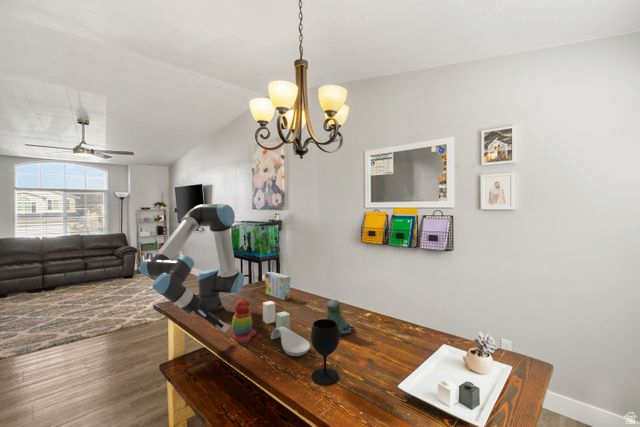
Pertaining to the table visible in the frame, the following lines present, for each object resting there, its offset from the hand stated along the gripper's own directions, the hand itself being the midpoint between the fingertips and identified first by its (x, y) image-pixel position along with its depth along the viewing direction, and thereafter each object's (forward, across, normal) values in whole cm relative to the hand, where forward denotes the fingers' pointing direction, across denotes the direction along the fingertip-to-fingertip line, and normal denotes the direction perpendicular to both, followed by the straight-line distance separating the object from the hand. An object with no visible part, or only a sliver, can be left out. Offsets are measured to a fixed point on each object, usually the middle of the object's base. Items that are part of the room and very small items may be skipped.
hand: (226, 329), depth 137 cm
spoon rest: (+19, +21, +10) cm, 30 cm away
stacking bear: (+10, 0, +1) cm, 10 cm away
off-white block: (+22, -10, +14) cm, 28 cm away
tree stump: (+39, +18, +31) cm, 53 cm away
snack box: (+38, -45, +30) cm, 66 cm away
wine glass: (+19, +48, +11) cm, 53 cm away
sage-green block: (+22, +8, +14) cm, 27 cm away
